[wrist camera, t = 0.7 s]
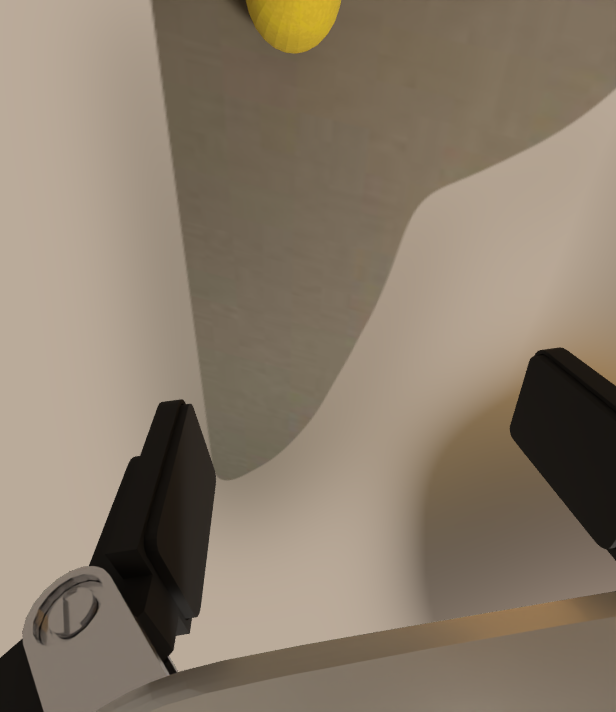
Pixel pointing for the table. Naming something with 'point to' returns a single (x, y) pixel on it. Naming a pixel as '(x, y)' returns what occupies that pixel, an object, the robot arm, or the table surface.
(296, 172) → the table surface
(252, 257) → the table surface
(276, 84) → the table surface
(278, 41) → the lemon
